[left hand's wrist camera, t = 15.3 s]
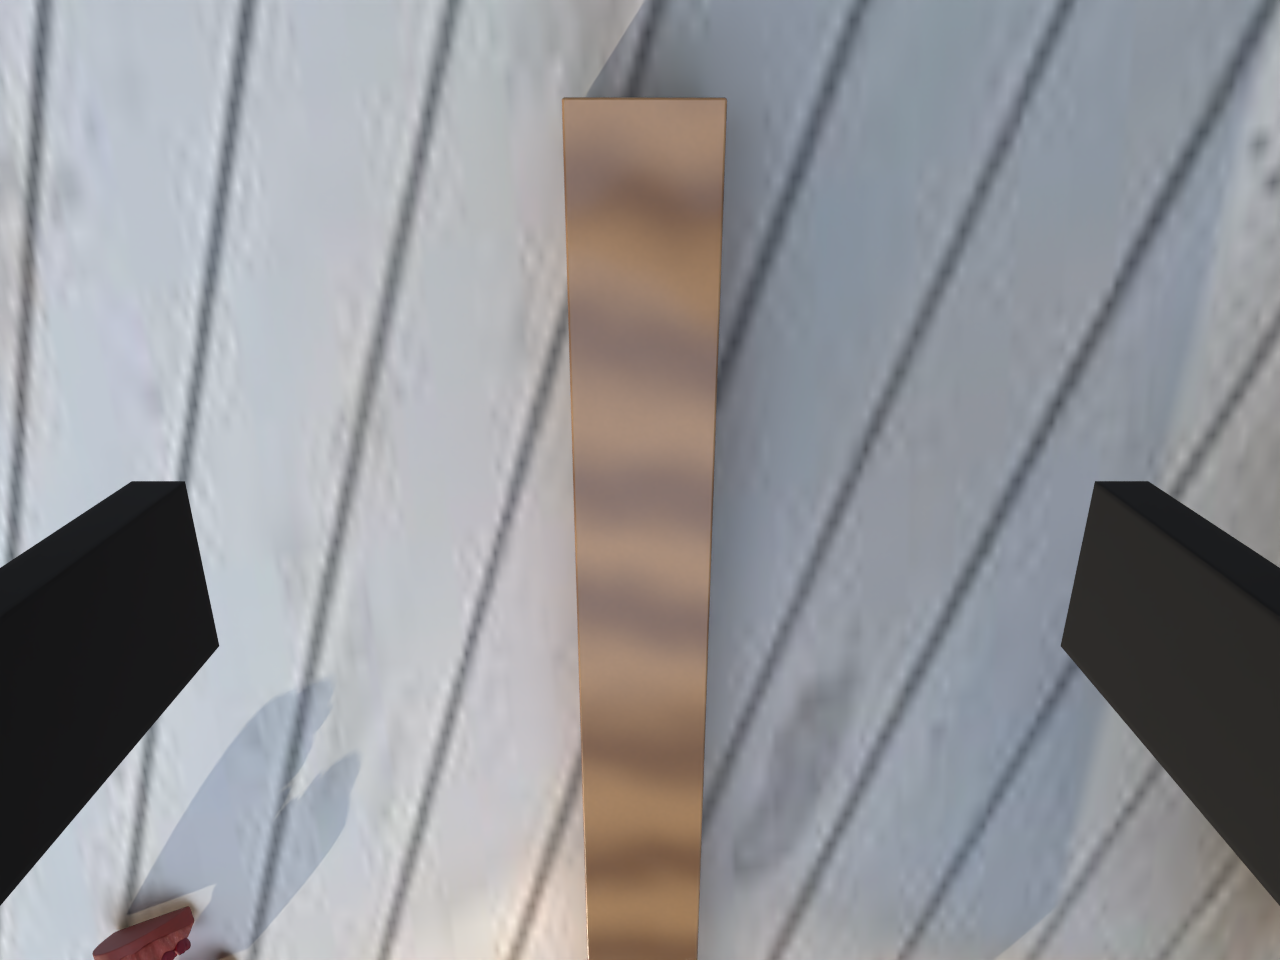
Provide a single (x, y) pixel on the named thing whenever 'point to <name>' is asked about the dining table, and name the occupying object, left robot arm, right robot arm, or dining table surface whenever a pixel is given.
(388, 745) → the dining table surface
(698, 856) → the beam
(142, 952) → the dark red lumpy piece
